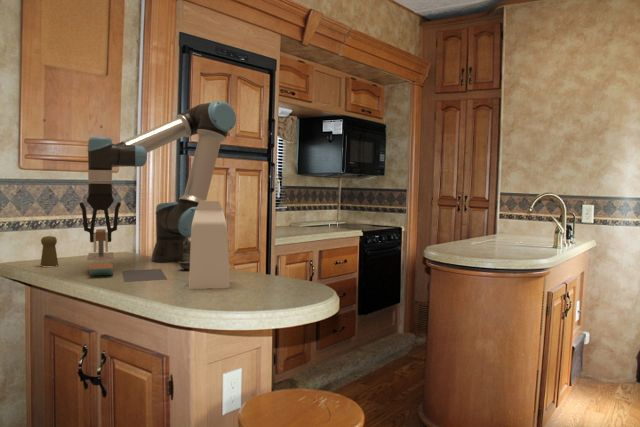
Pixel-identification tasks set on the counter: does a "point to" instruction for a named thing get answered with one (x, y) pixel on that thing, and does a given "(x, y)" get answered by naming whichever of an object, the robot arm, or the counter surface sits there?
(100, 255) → the trowel
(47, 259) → the cork
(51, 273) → the counter surface
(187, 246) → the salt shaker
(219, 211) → the milk
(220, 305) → the counter surface
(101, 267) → the tile
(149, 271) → the mat
